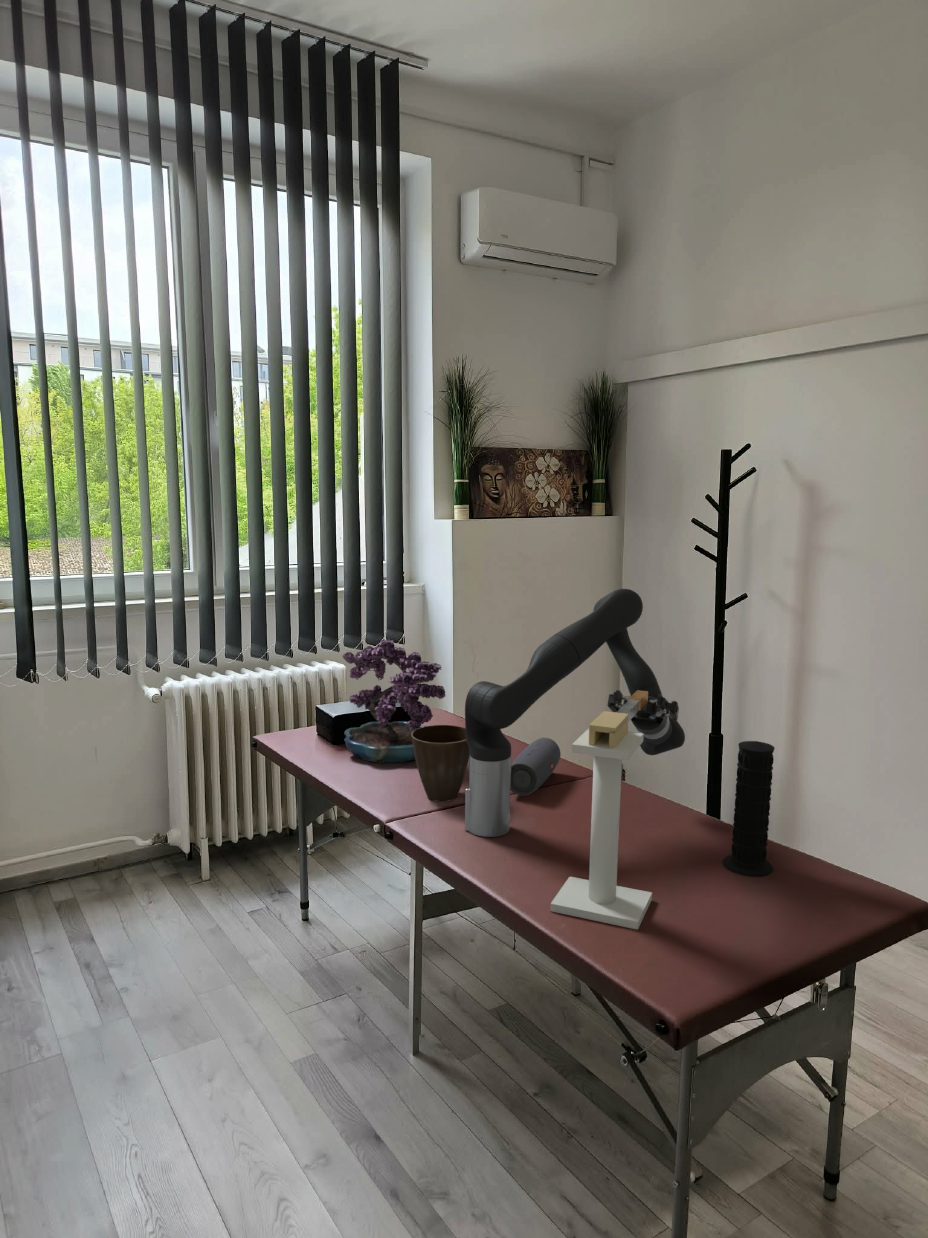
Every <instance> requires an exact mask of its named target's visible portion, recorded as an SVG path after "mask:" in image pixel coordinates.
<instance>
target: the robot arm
mask: <svg viewBox="0 0 928 1238" xmlns="http://www.w3.org/2000/svg"><path fill="white" fill-rule="evenodd" d="M643 606H644V605H643V600H642V597H641V596H640V595H639V593H637V592H636V591H634V590H632V589H630V588H629V589H628V588H618V589H614V590H613V591H612V592H609V593H608V594H607V595H605V596H603V597H601V598H600V599H598V600H597V601H596V603H595V604H594V607H593V611H592V612H590V613H589V614H588V615H586V616H585V617H582V618H580V619H578V620H576V621H575V622H573V623H571V624H570V625H568V626H566V627H564V628H562V629H560V631H557V632H556V633H554V634H553V635H551V636H550V637H549V638H547V639H546V640H545V641H544V642H543V643H541V644H539V646H538V647H537V648H536V649H535V650H534V652H533V654H532V656H531V658H530V662H529V664H528V667H527V669H526V670H525V672H524V673H523V674H521V675H520V676H519V677H517V678H516V679H515V680H513V681H512V682H510V683H508V684H506V685H500V684H496V683H494V682H490V681H485V680H484V681H483V680H482V681H481V680H480V681H478V682H476V683H475V684H473V685H472V686H471V687H470V688H469V690H468V691H467V694H466V698H465V702H464V703H465V704H464V721H465V722H464V723H465V724H464V725H465V726H464V728H465V729H466V741H467V744H468V746H469V761H468V765H469V766H468V769H469V770H468V787H467V788H466V789H465V794H464V800H465V801H464V806H465V807H464V808H465V809H464V831H467V832H470V833H471V834H472V835H476V836H479V837H485V838H494V837H495V838H496V837H500V836H505V835H507V834H508V833H509V832H510V824H511V819H510V818H511V790H510V788H511V764H512V744H511V742H510V741H509V740H508V738H507V737H506V736H505V735H504V734H503V732H502V730H503V729H506V728H508V727H510V726H512V725H513V724H514V723H515V722H516V721H518V720H519V718H521V717H522V716H523V714H525V712H527V710H529V709H530V707H531V706H532V705H534V704H535V703H536V702H537V701H538V700H539V699H540V698H541V697H542V696H544V695H545V694H546V693H548V692H549V691H550V690H551V689H552V688H553V687H555V686H556V685H557V684H558V683H559V682H560V681H562V680H563V679H565V678H567V677H568V676H569V675H570V674H571V673H573V672H574V671H575V670H576V669H577V668H579V667H580V666H581V665H582V664H583V663H584V662H586V661H587V660H588V659H589V658H590V657H592V655H594V654H595V653H596V652H597V651H598V650H599V649H600V648H601V647H602V646H603V645H604V644H605V643H606V644H607V646H608V648H609V650H610V652H611V655H612V656H613V659H615V662H616V664H617V666H618V668H619V670H620V672H621V674H622V676H623V679H624V682H625V684H626V687H627V689H628V693H629V694H630V695H623V693H622V692H621V690H618V689H617V690H616V691H614V692H613V693H612V694H611V693H610V694H608V699H607V705H606V706H607V707H608V708H609V710H611V712H618V711H619V710H620V709H621V708H622V706H623V705H624V704H625V703H626V702H627V701H628V700H629V698H630V697H631V696H632V695H633V694H634V693H635V692H636V691H637V690H640V691H648V702H647V704H646V705H645V706H644V707H643V708H642V709H641V710H639V711H638V712H637V713H636V714H635V715H634V716H633V718H632V719H631V720H630V721H631V722H632V724H633V726H634V727H635V729H636V731H637V733H644V736H643V742H642V744H641V745H640V746H639V748H641V750H642V751H643V753H644V754H646V755H647V756H656V755H660V754H663V753H666V752H669V751H672V750H676V749H679V748H681V747H683V746H684V744H685V741H686V735H685V731H684V728H683V727H682V726H681V724H680V723H679V721H678V719H679V710H680V707H679V703H678V702H677V701H675V700H671V702H669V700H668V699H666V698H665V697H663V696H664V695H663V693H662V690H661V687H660V685H659V682H658V680H657V677H656V675H655V673H654V671H653V669H652V668H651V667H650V666H649V664H648V663H647V662H646V661H645V659H643V658H642V656H641V655H640V654H639V653H638V652H637V650H636V648H635V647H634V645H633V643H632V641H631V638H630V635H629V631H628V628H630V627H631V626H633V625H635V624H637V622H638V621H639V620H640V618H641V616H642V614H643V608H644V607H643Z"/></svg>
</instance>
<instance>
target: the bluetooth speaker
mask: <svg viewBox="0 0 928 1238" xmlns="http://www.w3.org/2000/svg"><path fill="white" fill-rule="evenodd" d="M561 755H562V754H561V749H560V747H559V745H558V744H557V742H556V741H555V740H553V739H551V738H549V737H540V738H537V739H535V740H534V741H532V742H530V744H529V745H528V746H526V748H524V749H523V750H522V751H521V752H520V753H519V754H518V755H517V756H516V758H515V759H513V761H512V762H511V788H510V792H512V793H513V794H515V795H517V796H522V797H523V796H530V795H531V794H533V793H534V792H535V791H537V790H538V789H539V788H540V787H541V786H543V784H544V783H545V782H546V781H547V779H548V778H549V777H550V776H551V775H552V773H553V772H554V770H555V769H556V767H558V766H557V765H558V764H559V762H560V759H561Z"/></svg>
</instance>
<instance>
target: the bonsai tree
mask: <svg viewBox="0 0 928 1238" xmlns="http://www.w3.org/2000/svg"><path fill="white" fill-rule="evenodd" d="M342 658H343V660H345V662H346V663H347V664H350V665H352V664H353V665H355V666H353V667H352V668H351V669H350V670H349V672H350V674H349V677H350V678H351V679H355V680H357V681H359V679H361V678H362V677H363V676H364V675H366V674H367V673H368V672H369V671H370V672H371V671H373V672H374V674H375V677H376V679H378V681H381V680H383V679H384V678H385V673H386V670H387V669H386V665H387V664H388V665H389V666H392V665H393V664H394V665H396V666H397V667H398V668H399V669H400V671H401V672H399V674H398V673H395V675H393V676H390V677H389V679H390V681H388V683H391V684H393V685H392V686H390V687H388V688H385V689H384V690H382V687H381V685H378V684H376V685H375V686H373V689H361V690H360V691H359V690H358V693H356V694H352V695H350V697H349V702H350V704H352V703H353V704H354V706H355V705H356V707H357V708H358V709H359V708H361V707H363V706H364V709H365V710H368V711H369V712H370V714H371V715H372V717H373V718H374V720H376V721H370V722H367V723H364V724H361V725H360V727H358V726H357V727H350V728H347V729H346V730H345V731H344V733H343V734H344V735H345V738H344V739H343V740H344V742H345V745H346V748H347V751H348V752H349V753H351V754H354V756H355V757H356V758H359V759H361V760H364V761H367V762H371V763H372V762H373V763H387V764H389V763H391V764H392V763H393V764H394V763H402V762H409V761H413V760H416V759H415V754H414V749H413V742H412V735H411V734H412V732H413V731H414V730H416V729H418V728H421V727H425V726H426V725H423V724H425V723H429V721H430V722H431V720H432V718H433V717H434V715H433V713H432V710H431V708H430V707H429V705H428V704H423V703H422V702H421V701H419V700H420V697H421V698H425V699H428V700H429V699H430V698H432V699H435V698H438V700H439V701H441V700H442V699H444V698H445V697H446V689H445V688H444V686H443V685H439V684H438V685H436V684H427V683H428V682H432V681H434V679H435V678H437V674H438V673H440V670H441V671H442V665H441V664H439V663H435V662H434V663H433V662H432V663H430V662H429V661H426V660H425V661H424V660H423V661H422V657H421V653H420V652H416V651H414V652H411V653H408V654H407V652H406V649H405V648H404V647H401V646H400V647H397V646H395V644H394V640H392V639H390V638H389V639H386V640H383V641H380V643H379V644H378V645H377V646H376V647H373V646H370V645H367V646H366V647H364V648H363V649H362V650H360V651H357V652H356V654H353V653H352V652H351V651H348V652H345V653H344V654H343V655H342ZM382 659H383V660H382ZM385 660H386V661H385ZM372 669H373V670H372ZM407 670H408V671H407ZM398 703H399V704H400V707H402V710H404V712H406V713H407V716H409V718H410V720H408V721H405V720H403V721H402V720H401V721H399V720H398V721H392V722H390V720H391V717H392V715H393V714H395V712H396V710H397V707H396V706H397V705H396V704H398Z"/></svg>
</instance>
